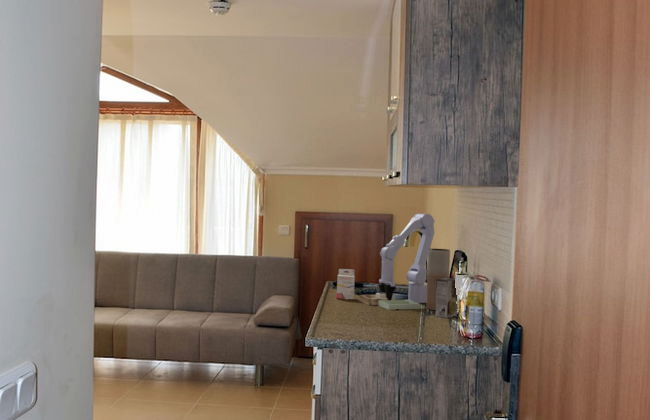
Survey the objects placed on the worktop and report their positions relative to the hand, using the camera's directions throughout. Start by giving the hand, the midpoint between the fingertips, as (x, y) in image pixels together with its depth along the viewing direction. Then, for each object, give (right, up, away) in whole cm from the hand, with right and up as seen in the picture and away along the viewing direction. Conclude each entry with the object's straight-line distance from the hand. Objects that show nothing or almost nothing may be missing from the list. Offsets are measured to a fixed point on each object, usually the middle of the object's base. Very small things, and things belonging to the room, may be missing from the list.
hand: (386, 299), depth 307 cm
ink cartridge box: (-20, -1, +9) cm, 22 cm away
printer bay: (-7, -1, -2) cm, 7 cm away
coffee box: (+23, -3, -33) cm, 41 cm away
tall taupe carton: (+22, -3, -15) cm, 27 cm away
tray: (+5, -2, -13) cm, 14 cm away
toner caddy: (-1, -2, 0) cm, 2 cm away
